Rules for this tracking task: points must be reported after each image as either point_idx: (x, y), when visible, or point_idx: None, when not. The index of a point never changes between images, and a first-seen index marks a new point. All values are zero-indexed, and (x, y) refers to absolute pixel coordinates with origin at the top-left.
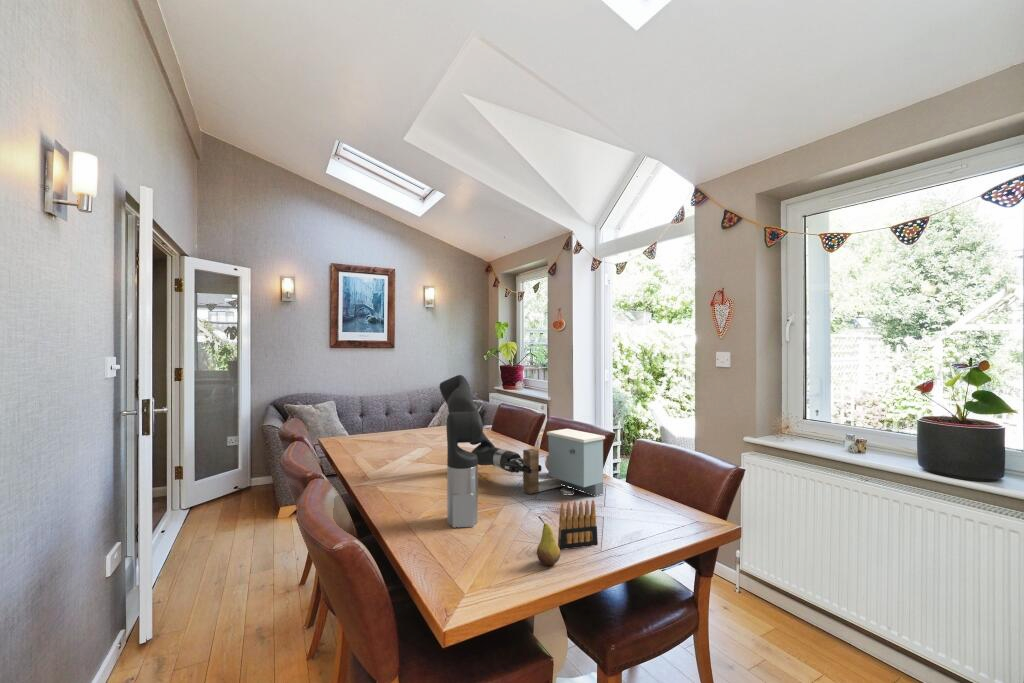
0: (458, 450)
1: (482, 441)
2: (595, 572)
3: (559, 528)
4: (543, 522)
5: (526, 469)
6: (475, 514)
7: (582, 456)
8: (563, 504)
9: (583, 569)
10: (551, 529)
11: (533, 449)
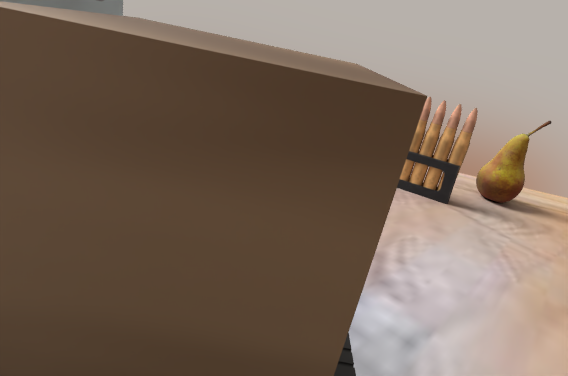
0: None
1: None
2: (428, 167)
3: (461, 164)
4: (533, 131)
5: (346, 348)
6: None
7: (117, 9)
8: (472, 112)
9: (441, 175)
10: (511, 139)
11: (83, 14)
